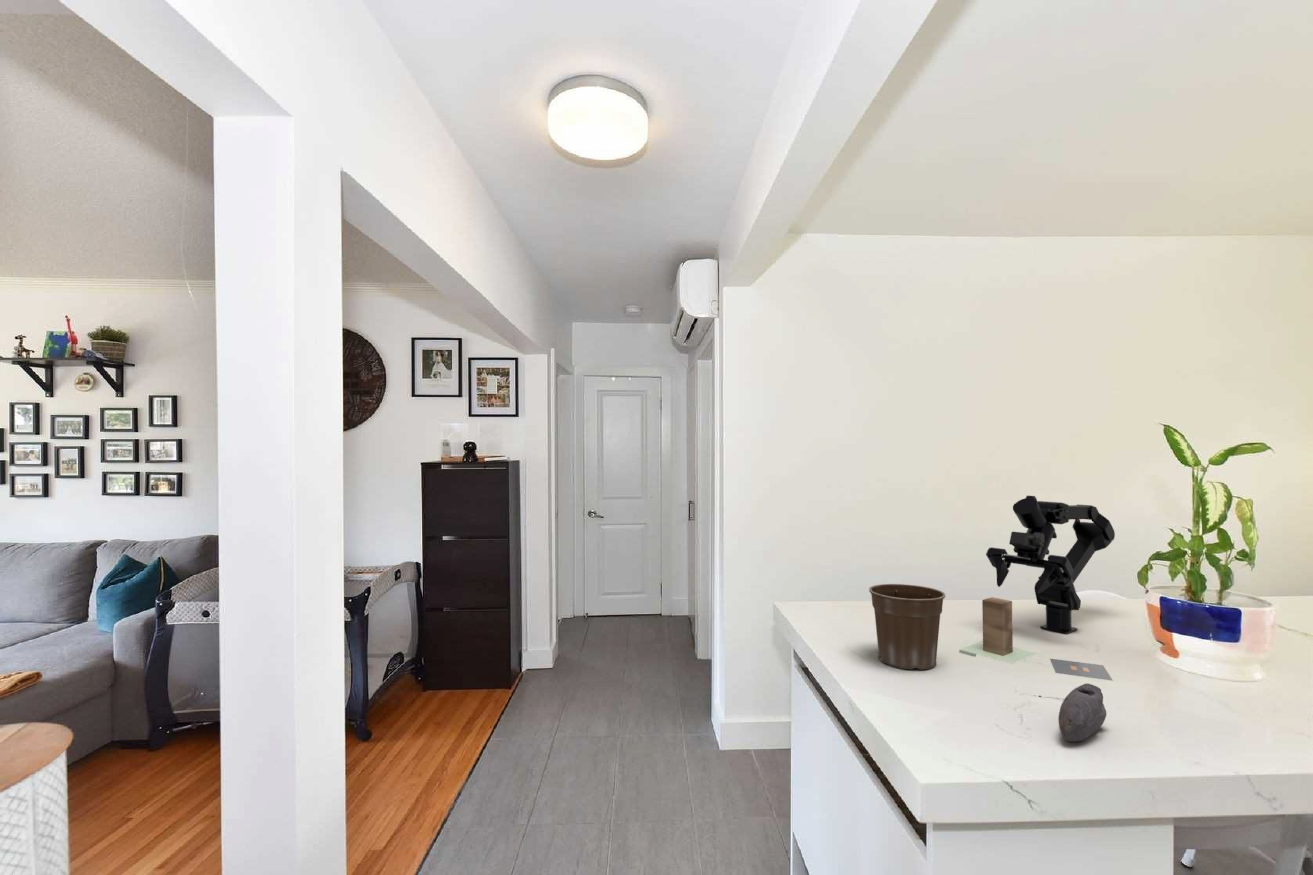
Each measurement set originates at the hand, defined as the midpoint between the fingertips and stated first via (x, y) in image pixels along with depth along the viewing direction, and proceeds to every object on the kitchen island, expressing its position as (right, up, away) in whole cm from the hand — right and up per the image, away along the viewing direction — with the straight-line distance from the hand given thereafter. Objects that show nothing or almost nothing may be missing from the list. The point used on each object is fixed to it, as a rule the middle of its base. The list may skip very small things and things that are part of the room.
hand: (1017, 589), depth 152 cm
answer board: (-9, -13, -7) cm, 18 cm away
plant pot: (-32, -14, -12) cm, 37 cm away
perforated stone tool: (-17, -13, -48) cm, 52 cm away
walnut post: (-9, -13, -7) cm, 17 cm away
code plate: (+2, -13, -19) cm, 23 cm away
